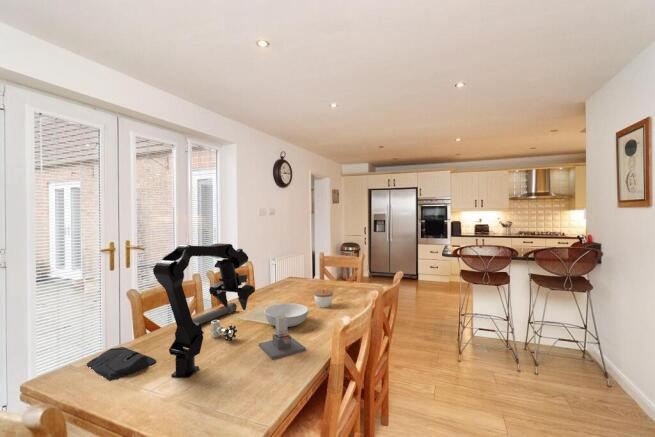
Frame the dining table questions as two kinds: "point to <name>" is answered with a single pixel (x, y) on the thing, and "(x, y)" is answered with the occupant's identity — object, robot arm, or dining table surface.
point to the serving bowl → (287, 313)
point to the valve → (222, 330)
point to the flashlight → (215, 313)
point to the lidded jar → (323, 298)
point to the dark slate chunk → (119, 363)
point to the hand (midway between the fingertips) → (235, 308)
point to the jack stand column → (281, 326)
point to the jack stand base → (281, 346)
